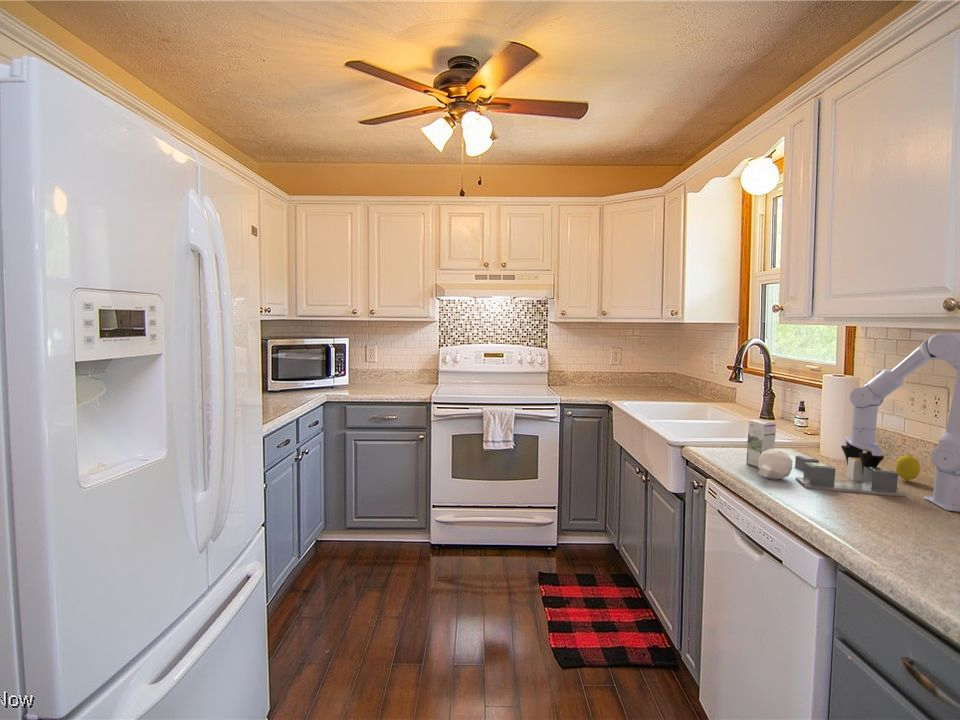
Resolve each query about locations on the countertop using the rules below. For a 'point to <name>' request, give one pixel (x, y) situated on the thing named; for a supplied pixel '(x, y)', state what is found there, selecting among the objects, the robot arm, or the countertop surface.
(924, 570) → the countertop surface
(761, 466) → the beige faceted rounded lump
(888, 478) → the rail
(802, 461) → the relay block
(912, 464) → the lemon
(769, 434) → the syrup box
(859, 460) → the block
